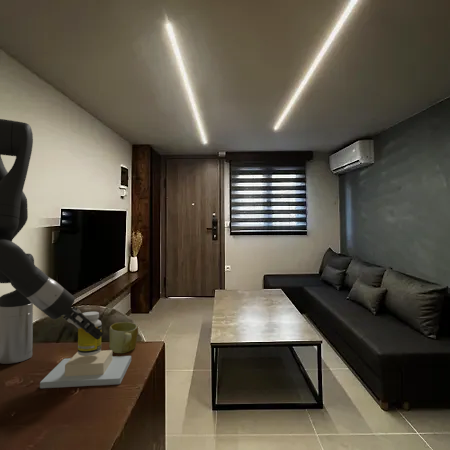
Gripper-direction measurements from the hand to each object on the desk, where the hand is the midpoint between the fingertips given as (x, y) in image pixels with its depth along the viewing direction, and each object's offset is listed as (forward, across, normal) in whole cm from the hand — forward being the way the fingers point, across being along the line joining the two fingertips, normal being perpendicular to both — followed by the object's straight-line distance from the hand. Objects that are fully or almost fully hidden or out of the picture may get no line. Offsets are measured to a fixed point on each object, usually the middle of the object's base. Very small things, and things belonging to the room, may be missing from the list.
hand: (95, 333), depth 93 cm
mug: (+17, +10, -2) cm, 20 cm away
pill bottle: (+2, 0, +5) cm, 5 cm away
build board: (+7, 0, +9) cm, 11 cm away
